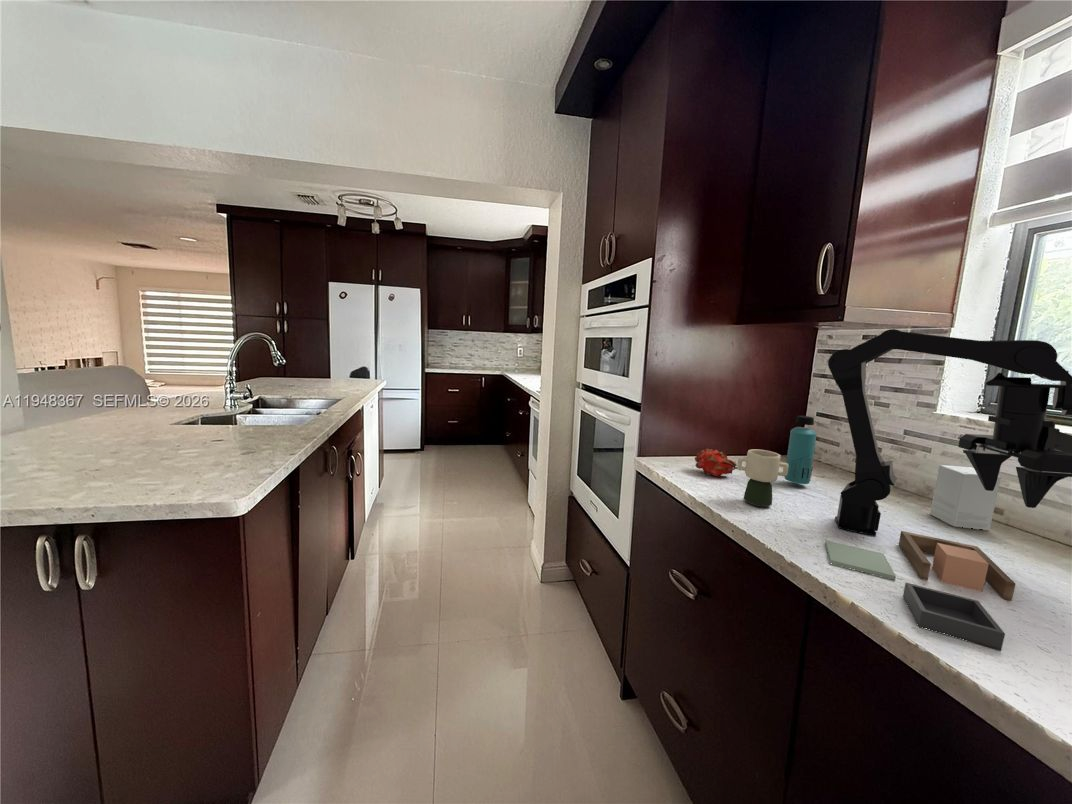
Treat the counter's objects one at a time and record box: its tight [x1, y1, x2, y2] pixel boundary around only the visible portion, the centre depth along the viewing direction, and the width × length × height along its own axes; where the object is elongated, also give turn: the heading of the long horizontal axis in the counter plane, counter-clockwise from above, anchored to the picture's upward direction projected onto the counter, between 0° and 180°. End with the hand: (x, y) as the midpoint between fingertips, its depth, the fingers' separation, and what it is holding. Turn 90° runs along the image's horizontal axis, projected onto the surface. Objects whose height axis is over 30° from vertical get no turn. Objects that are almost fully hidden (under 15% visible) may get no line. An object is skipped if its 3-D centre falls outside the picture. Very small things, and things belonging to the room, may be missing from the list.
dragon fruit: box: [694, 448, 738, 479], centre depth 122 cm, size 8×8×12 cm
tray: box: [902, 582, 1006, 652], centre depth 59 cm, size 8×8×2 cm
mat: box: [824, 539, 897, 581], centre depth 75 cm, size 9×9×1 cm
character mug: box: [736, 448, 788, 508], centre depth 100 cm, size 11×7×13 cm, turn 69°
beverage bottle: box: [783, 415, 818, 485], centre depth 115 cm, size 6×7×20 cm
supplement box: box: [929, 464, 1002, 531], centre depth 94 cm, size 7×7×13 cm
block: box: [931, 543, 989, 592], centre depth 70 cm, size 5×5×5 cm
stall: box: [898, 530, 1017, 602], centre depth 74 cm, size 11×14×3 cm
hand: (1008, 498), depth 74 cm, fingers open, 9 cm apart
